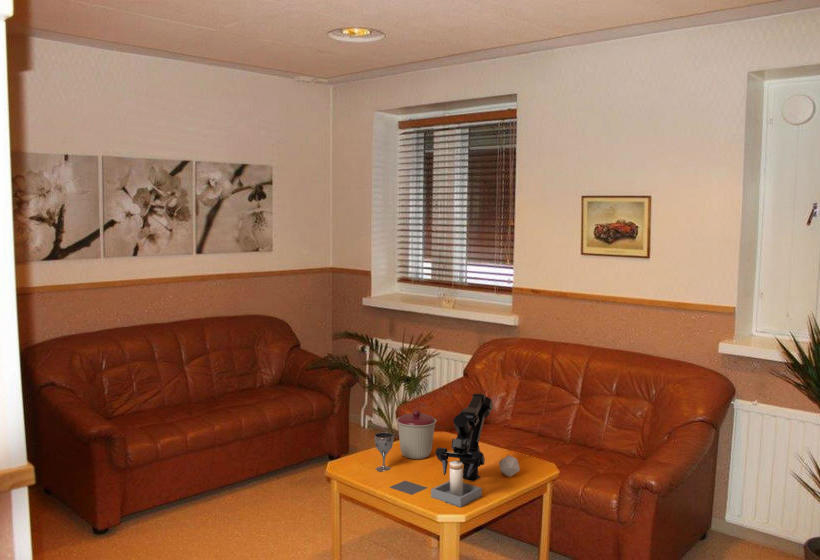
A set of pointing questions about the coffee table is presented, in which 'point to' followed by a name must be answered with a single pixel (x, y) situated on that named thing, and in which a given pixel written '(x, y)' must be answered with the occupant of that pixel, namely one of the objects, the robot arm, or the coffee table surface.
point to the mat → (408, 487)
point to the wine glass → (383, 447)
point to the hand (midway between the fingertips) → (455, 476)
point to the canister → (416, 434)
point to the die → (509, 465)
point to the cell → (456, 478)
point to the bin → (444, 495)
